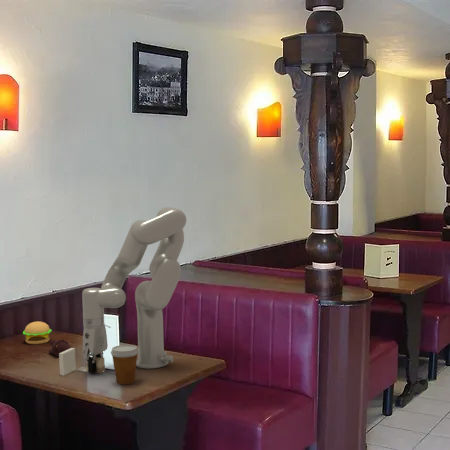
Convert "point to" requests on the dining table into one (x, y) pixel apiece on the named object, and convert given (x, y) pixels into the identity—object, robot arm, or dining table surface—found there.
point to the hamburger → (37, 333)
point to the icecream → (58, 346)
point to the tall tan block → (99, 365)
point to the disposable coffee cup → (125, 363)
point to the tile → (67, 361)
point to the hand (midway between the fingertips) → (95, 370)
